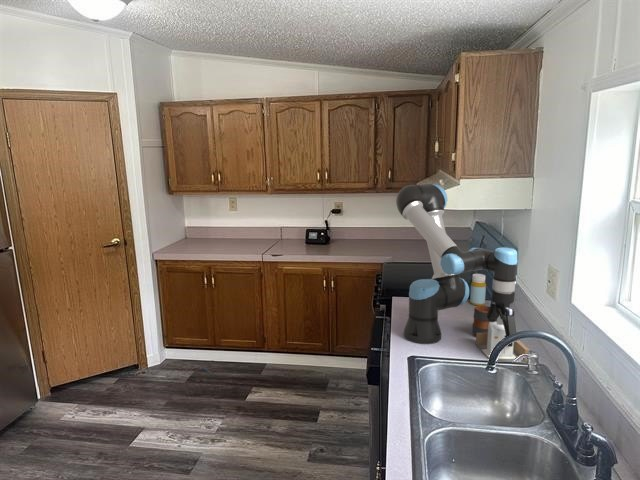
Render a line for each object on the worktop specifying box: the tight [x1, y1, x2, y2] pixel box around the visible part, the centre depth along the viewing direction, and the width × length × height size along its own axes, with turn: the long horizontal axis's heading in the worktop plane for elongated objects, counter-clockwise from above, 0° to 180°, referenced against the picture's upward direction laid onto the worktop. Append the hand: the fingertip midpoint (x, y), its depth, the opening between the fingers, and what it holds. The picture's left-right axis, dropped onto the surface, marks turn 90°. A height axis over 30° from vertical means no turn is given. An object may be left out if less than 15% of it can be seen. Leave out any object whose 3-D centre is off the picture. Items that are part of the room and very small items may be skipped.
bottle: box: [469, 273, 487, 306], centre depth 215 cm, size 7×7×15 cm
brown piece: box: [475, 332, 530, 364], centre depth 160 cm, size 13×16×5 cm
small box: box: [487, 323, 514, 357], centre depth 158 cm, size 8×6×10 cm
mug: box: [471, 305, 491, 338], centre depth 178 cm, size 9×12×12 cm
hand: (499, 345), depth 158 cm, fingers open, 13 cm apart
